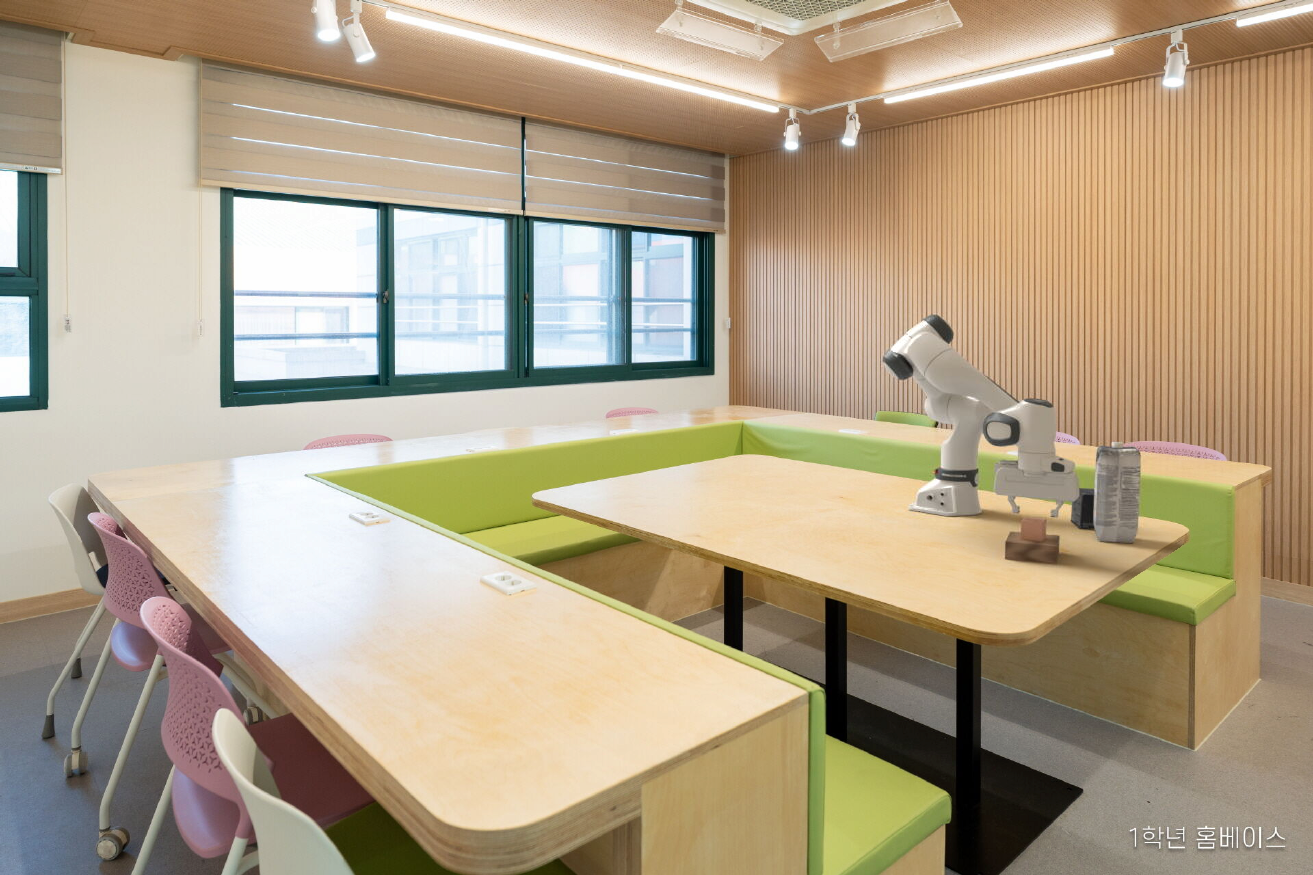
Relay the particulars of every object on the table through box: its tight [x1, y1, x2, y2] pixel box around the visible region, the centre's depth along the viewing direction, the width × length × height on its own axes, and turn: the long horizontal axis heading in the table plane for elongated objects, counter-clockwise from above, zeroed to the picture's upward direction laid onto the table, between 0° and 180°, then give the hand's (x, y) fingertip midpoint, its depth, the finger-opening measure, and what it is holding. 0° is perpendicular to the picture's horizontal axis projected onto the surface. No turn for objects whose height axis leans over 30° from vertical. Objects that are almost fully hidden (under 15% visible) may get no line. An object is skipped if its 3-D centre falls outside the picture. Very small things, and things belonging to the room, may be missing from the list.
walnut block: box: [1004, 531, 1061, 565], centre depth 223 cm, size 12×12×5 cm
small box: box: [1070, 487, 1095, 530], centre depth 254 cm, size 11×6×10 cm, turn 168°
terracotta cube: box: [1020, 516, 1047, 542], centre depth 223 cm, size 5×5×5 cm
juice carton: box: [1093, 441, 1142, 544], centre depth 236 cm, size 9×10×27 cm
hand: (1034, 514), depth 222 cm, fingers open, 8 cm apart
